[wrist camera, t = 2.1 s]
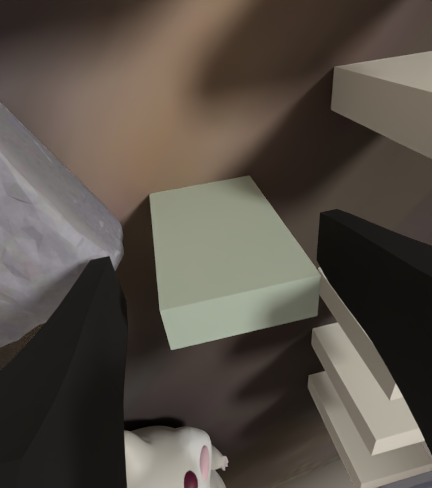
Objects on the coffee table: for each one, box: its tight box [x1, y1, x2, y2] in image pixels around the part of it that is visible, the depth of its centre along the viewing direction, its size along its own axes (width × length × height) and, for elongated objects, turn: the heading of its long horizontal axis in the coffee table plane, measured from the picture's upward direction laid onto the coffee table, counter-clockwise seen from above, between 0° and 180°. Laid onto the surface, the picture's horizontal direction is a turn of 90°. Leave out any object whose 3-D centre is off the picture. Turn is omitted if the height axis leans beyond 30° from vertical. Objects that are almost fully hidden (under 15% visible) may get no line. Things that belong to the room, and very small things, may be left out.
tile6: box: [308, 371, 432, 488], centre depth 22 cm, size 2×4×7 cm, turn 96°
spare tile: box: [149, 175, 321, 350], centre depth 12 cm, size 2×4×7 cm, turn 97°
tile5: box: [311, 323, 425, 456], centre depth 20 cm, size 2×4×7 cm, turn 97°
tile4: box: [317, 267, 403, 400], centre depth 17 cm, size 2×4×7 cm, turn 97°
